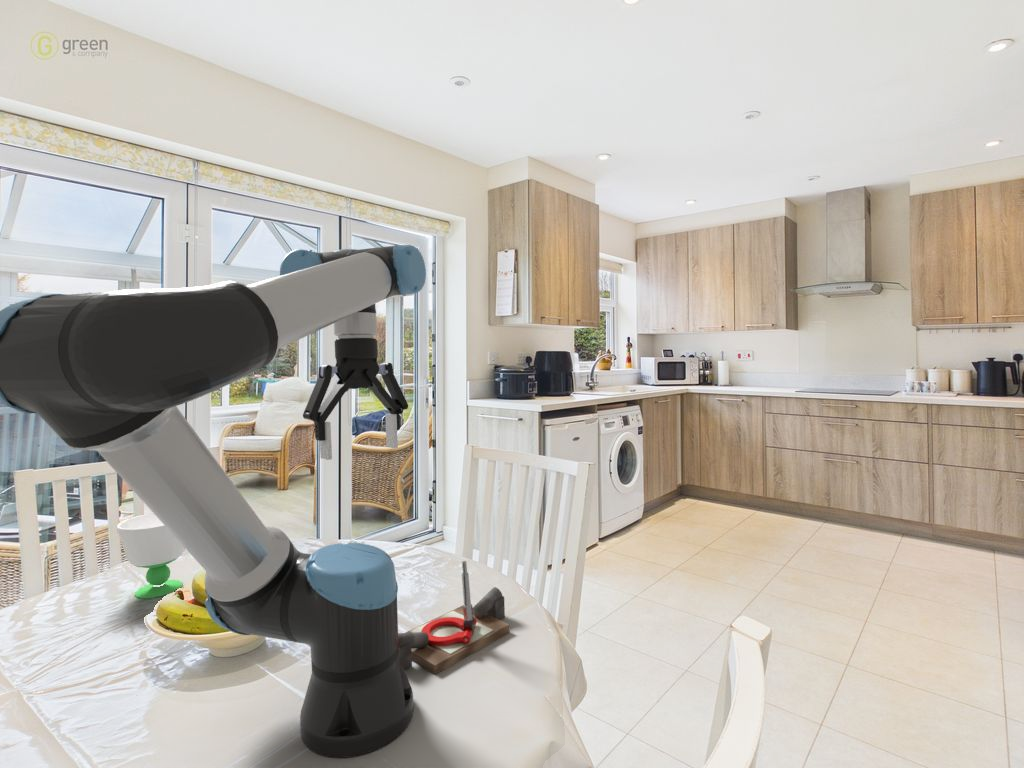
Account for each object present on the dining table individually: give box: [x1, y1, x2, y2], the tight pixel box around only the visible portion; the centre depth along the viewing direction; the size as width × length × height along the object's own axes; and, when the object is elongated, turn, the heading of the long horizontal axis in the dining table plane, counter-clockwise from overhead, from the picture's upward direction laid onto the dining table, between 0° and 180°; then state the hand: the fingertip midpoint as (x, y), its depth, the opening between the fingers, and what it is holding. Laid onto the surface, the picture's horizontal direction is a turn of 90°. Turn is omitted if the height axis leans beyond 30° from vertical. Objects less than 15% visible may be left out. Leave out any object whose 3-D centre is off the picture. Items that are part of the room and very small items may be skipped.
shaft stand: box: [398, 586, 511, 675], centre depth 95 cm, size 24×12×6 cm, turn 136°
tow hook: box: [421, 560, 477, 645], centre depth 94 cm, size 8×13×9 cm
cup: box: [116, 512, 186, 600], centre depth 119 cm, size 14×14×16 cm
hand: (360, 453), depth 99 cm, fingers open, 13 cm apart
